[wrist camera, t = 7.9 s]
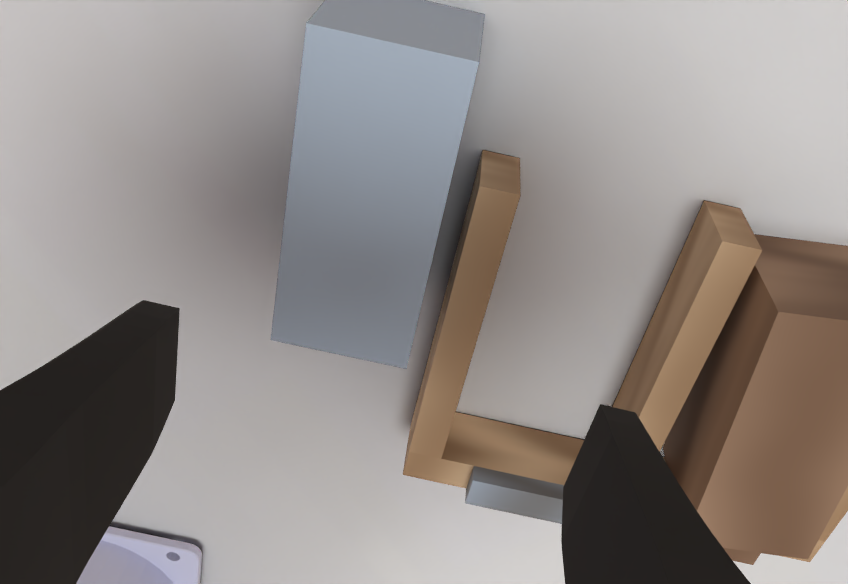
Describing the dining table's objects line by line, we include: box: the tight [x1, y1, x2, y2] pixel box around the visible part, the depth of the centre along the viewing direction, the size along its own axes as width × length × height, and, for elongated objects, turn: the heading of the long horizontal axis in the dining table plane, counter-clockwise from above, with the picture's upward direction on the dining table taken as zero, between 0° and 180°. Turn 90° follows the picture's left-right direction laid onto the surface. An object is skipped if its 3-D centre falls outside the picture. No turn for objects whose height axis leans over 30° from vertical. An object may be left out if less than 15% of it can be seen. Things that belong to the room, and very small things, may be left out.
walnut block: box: [663, 234, 848, 559], centre depth 22 cm, size 4×8×4 cm, turn 174°
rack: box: [403, 150, 848, 565], centre depth 23 cm, size 13×10×3 cm
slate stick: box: [271, 0, 485, 369], centre depth 20 cm, size 4×8×4 cm, turn 169°
